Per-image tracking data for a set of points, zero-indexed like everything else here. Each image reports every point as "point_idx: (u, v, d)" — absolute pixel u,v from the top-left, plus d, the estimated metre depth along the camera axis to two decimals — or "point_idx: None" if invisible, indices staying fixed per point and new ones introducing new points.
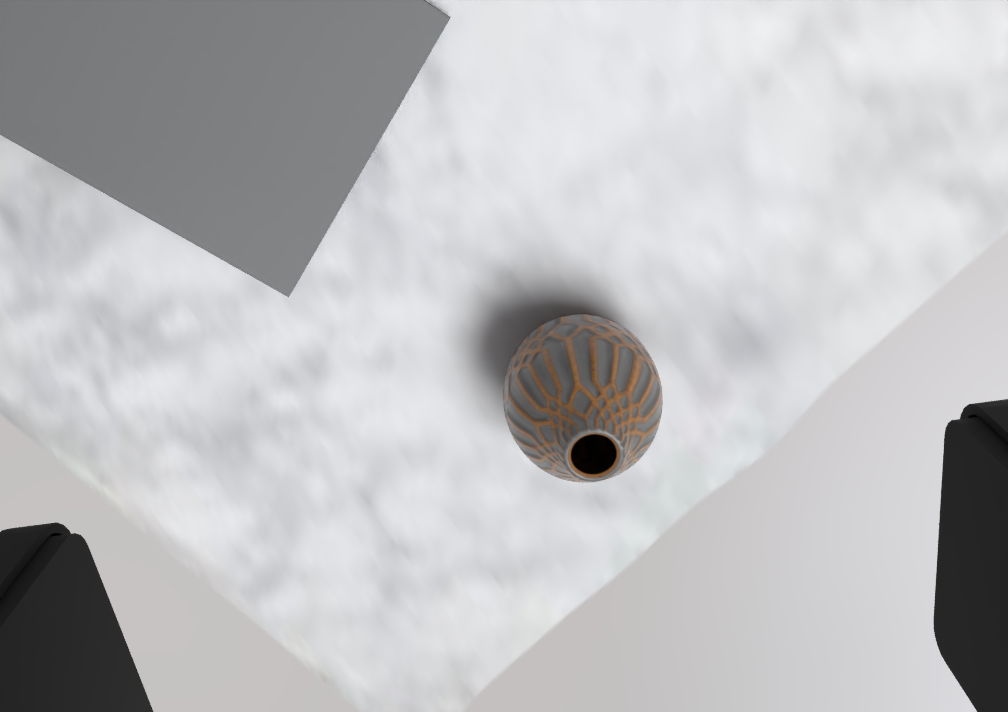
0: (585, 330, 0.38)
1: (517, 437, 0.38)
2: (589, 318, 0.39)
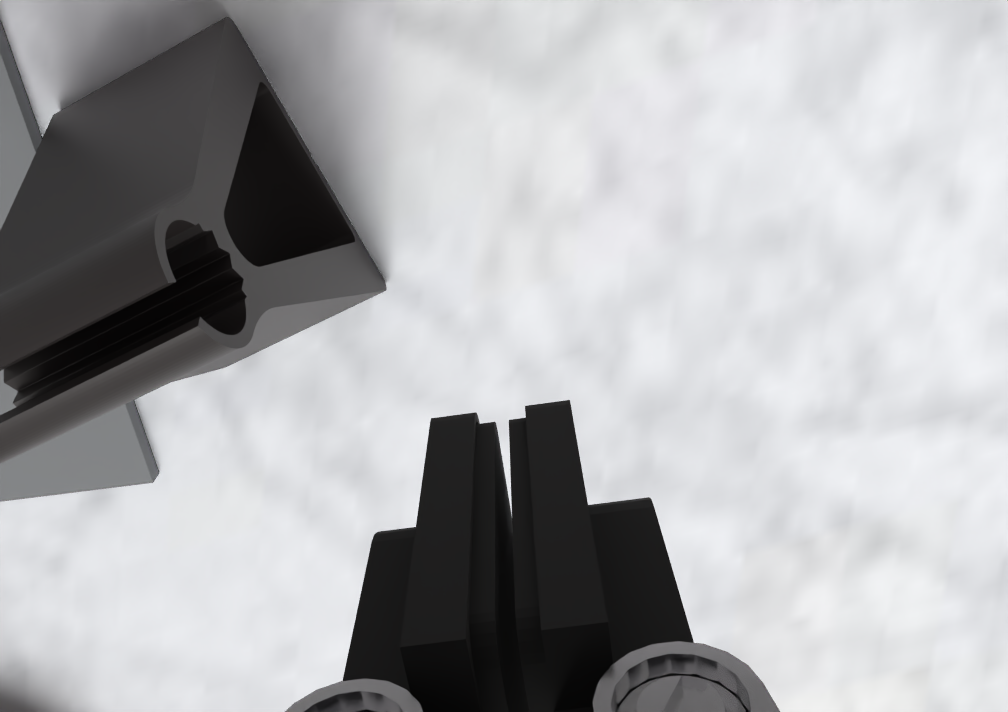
0: None
1: None
2: None
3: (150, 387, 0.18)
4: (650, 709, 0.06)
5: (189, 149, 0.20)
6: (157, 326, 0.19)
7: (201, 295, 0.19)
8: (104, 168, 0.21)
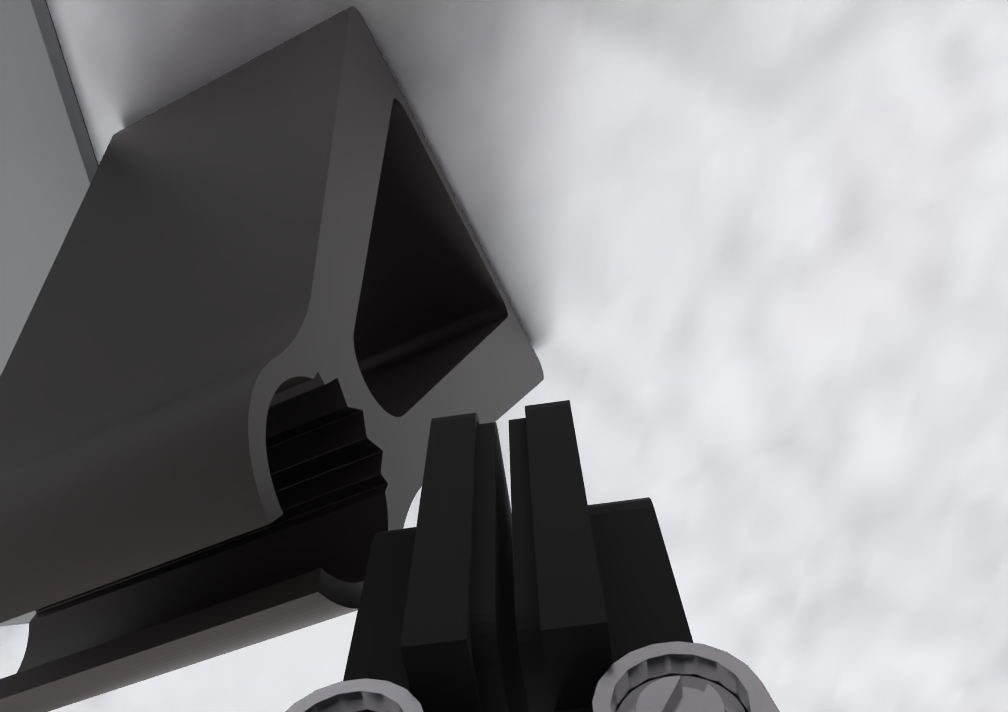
0: None
1: None
2: None
3: None
4: (649, 708, 0.06)
5: (302, 228, 0.13)
6: None
7: (315, 471, 0.12)
8: (174, 238, 0.14)
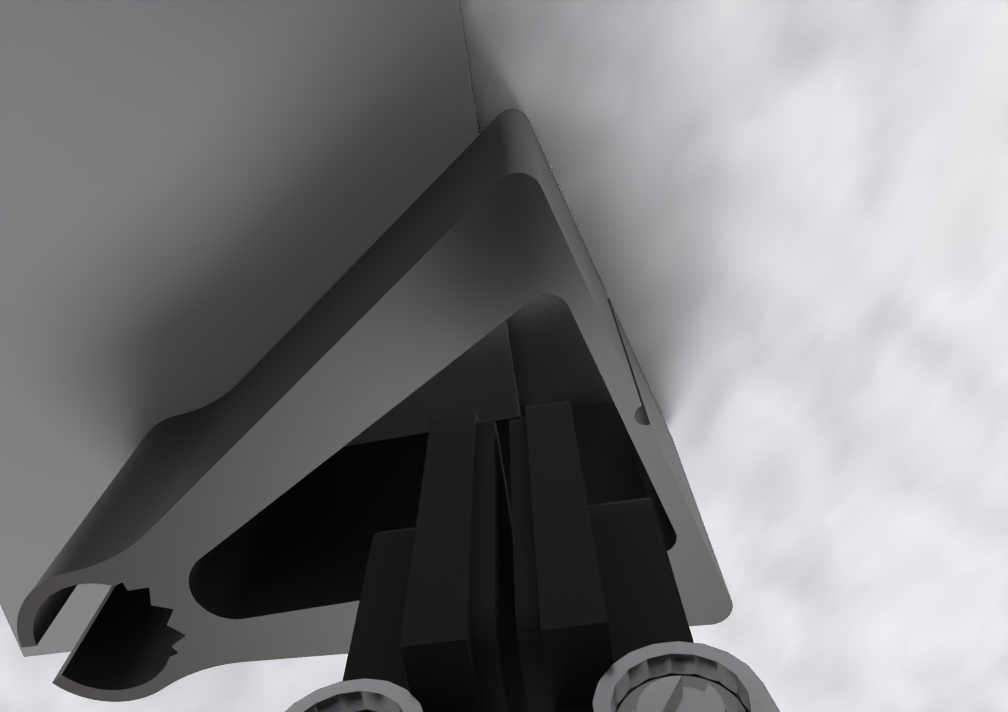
0: None
1: None
2: None
3: None
4: (650, 709, 0.06)
5: (208, 467, 0.15)
6: None
7: None
8: (294, 350, 0.17)
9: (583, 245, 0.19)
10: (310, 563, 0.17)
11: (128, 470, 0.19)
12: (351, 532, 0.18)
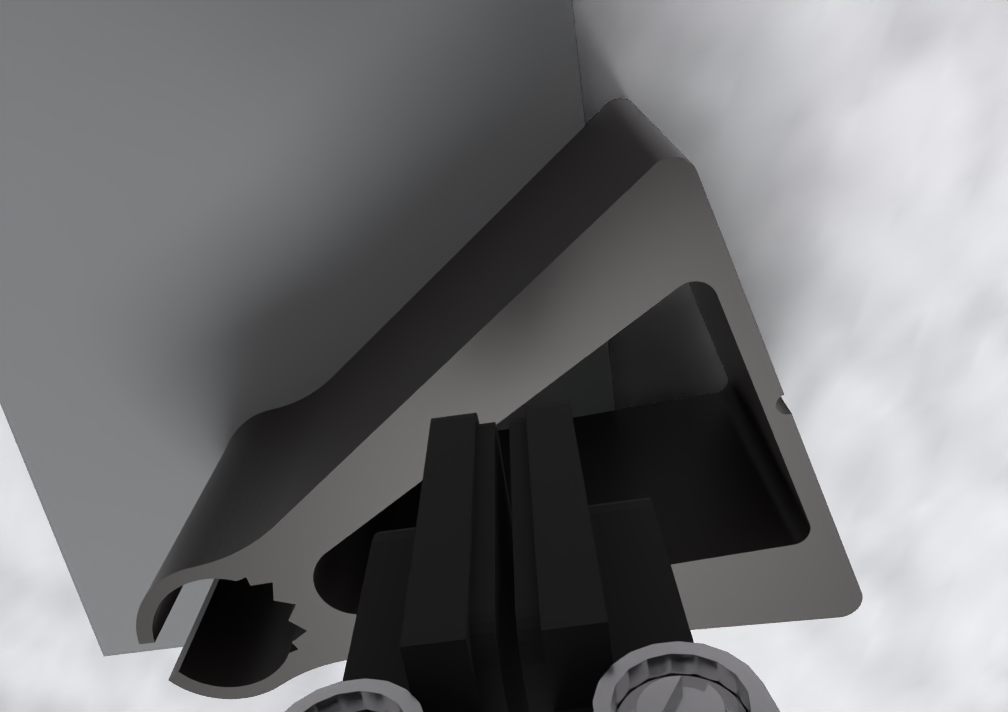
0: None
1: None
2: None
3: None
4: (649, 709, 0.06)
5: (338, 459, 0.15)
6: None
7: None
8: (409, 341, 0.17)
9: None
10: None
11: (230, 465, 0.19)
12: None
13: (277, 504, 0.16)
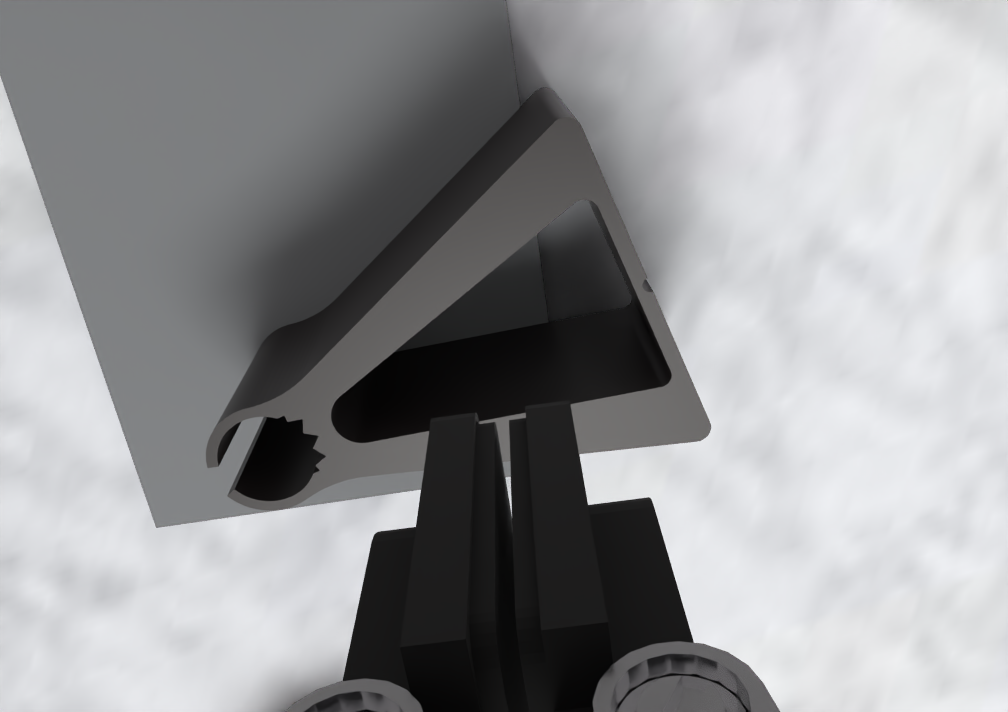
0: None
1: None
2: None
3: None
4: (650, 709, 0.06)
5: (348, 329, 0.22)
6: None
7: None
8: (395, 257, 0.24)
9: None
10: (408, 411, 0.24)
11: (264, 357, 0.26)
12: (434, 393, 0.25)
13: (304, 367, 0.23)
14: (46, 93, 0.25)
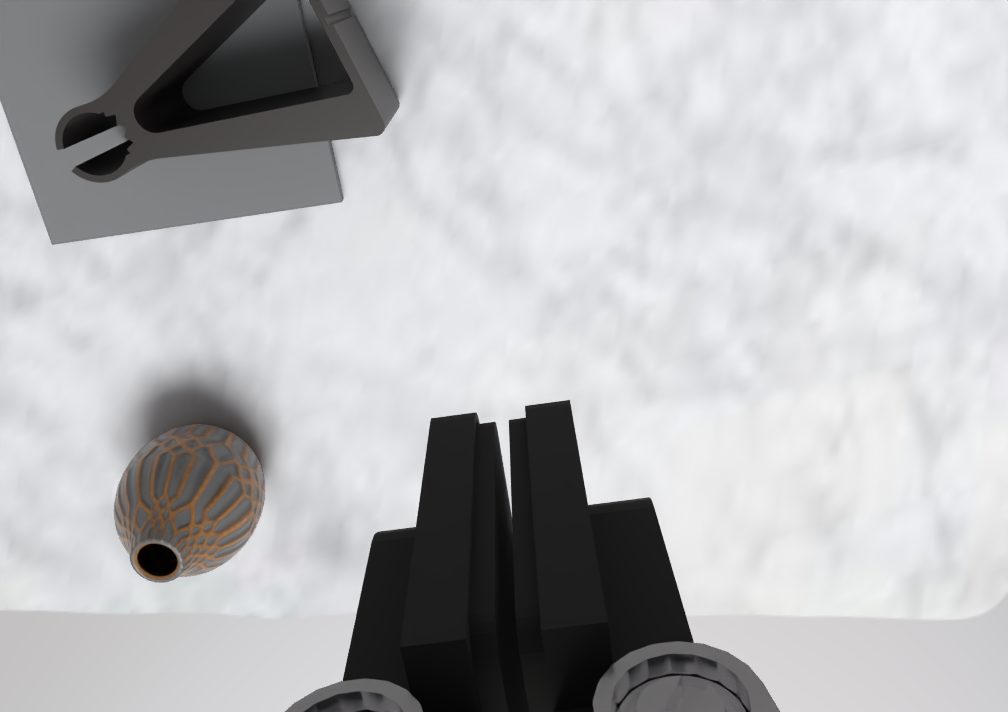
0: (234, 466, 0.44)
1: (119, 494, 0.43)
2: (246, 455, 0.45)
3: None
4: (650, 709, 0.06)
5: (141, 52, 0.34)
6: None
7: None
8: None
9: None
10: (194, 122, 0.36)
11: None
12: (216, 115, 0.37)
13: None
14: None
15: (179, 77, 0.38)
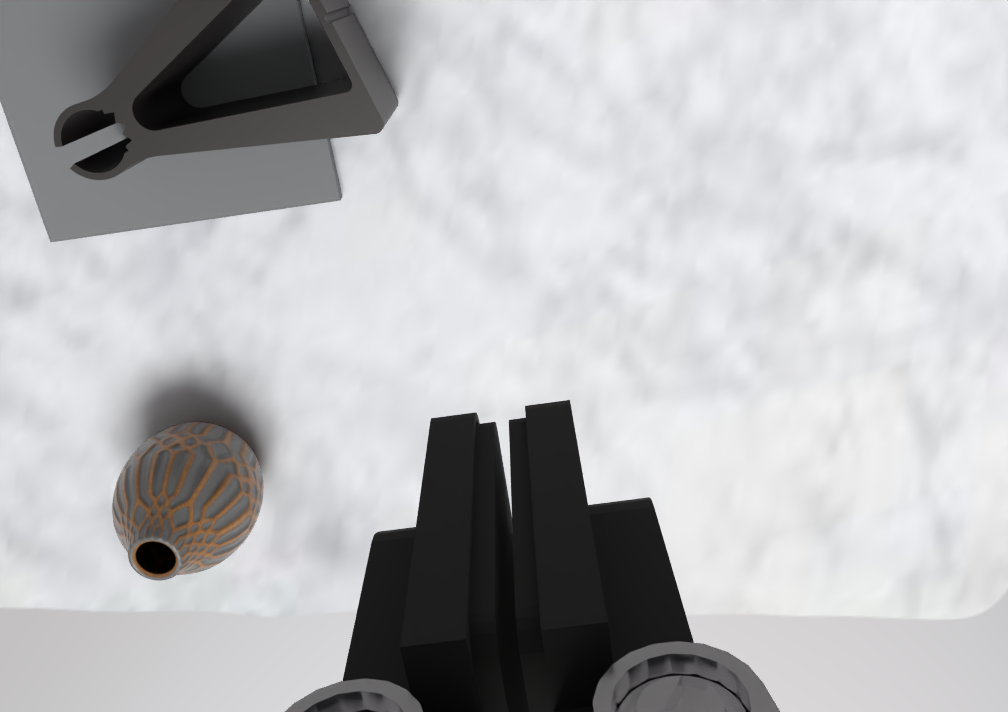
0: (232, 464, 0.44)
1: (117, 492, 0.43)
2: (244, 453, 0.45)
3: None
4: (650, 709, 0.06)
5: (139, 49, 0.34)
6: None
7: None
8: None
9: None
10: (193, 119, 0.36)
11: None
12: (215, 113, 0.37)
13: None
14: None
15: (178, 75, 0.38)
